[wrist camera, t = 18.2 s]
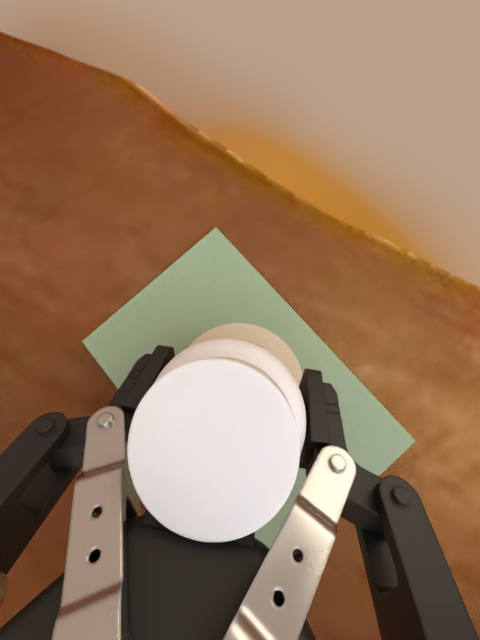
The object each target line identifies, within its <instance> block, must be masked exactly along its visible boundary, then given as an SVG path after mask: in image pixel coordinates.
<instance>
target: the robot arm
mask: <svg viewBox="0 0 480 640" xmlns="http://www.w3.org/2000/svg"><path fill="white" fill-rule="evenodd" d="M174 357H175V352H174V348H173V347H170V346H163V345H157V346H156V348H155V350H154V351H153V353H152V354H147V353H146V354H145V355H143V356H142V357H141V358H139V359H138V360H137V361H136V363H135V364H134V366H133V368H132V370H131V371H130V372H129V374H128V375H127V377H126V378H125V380H124V382H123V383H122V385H121V386H120V388H119V389H118V391H117V392H116V394H115V396H114V397H113V399H112V400H111V402H110V403H109V405H108V406H106V407H103V408H101V409H99V410H97V411H96V412H95V413H94V414H93V415H92V416H88V417H81V418H73V419H66V417H65V416H64V415H63V414H62V413H59V412H51V413H47V414H44V415H42V416H40V417H39V418H37V419H36V420H34V421H33V422H32V423H31V424H30V425H29V426H28V427H27V428H26V429H25V430H24V431H23V432H22V433H21V434H20V435H19V436H18V437H17V439H16V440H15V441H14V442H13V443H12V444H11V445H10V446H9V447H8V448H7V449H6V450H5V451H4V452H3V453H2V454H1V455H0V607H1V605H2V603H3V600H4V596H5V594H6V590H7V582H8V581H7V576H6V575H7V573H8V572H9V570H10V569H11V567H12V566H13V564H14V563H15V562H16V560H17V559H18V557H19V556H20V554H21V553H22V552H23V550H24V549H25V547H26V546H27V544H28V543H29V542H30V540H31V539H32V537H33V536H34V534H35V533H36V531H37V530H38V529H39V527H40V526H41V524H42V523H43V521H44V520H45V519H46V517H47V516H48V514H49V513H50V511H51V510H52V508H53V507H54V506H55V504H56V503H57V501H58V500H59V498H60V497H61V496H62V494H63V493H64V491H65V490H66V488H67V487H68V485H69V484H70V483H71V481H72V480H73V478H74V477H75V475H76V474H77V473H78V471H79V470H80V468H83V470H82V474H81V475H80V476H78V477H77V479H76V482H75V487H74V495H73V504H72V512H71V521H70V530H69V538H68V547H67V556H66V564H65V572H64V573H63V574H61V575H60V576H59V577H58V578H57V579H56V580H55V581H54V582H52V583H51V584H50V585H49V586H48V587H47V588H46V589H44V590H43V591H42V592H41V593H40V594H39V595H38V596H37V597H35V598H34V599H33V600H32V601H31V602H30V603H29V604H27V605H26V606H25V607H24V608H23V609H22V610H21V611H20V612H18V613H17V614H16V615H15V616H14V617H13V618H12V619H10V620H9V621H8V622H7V623H6V624H5V625H4V626H3V627H1V628H0V640H316V638H315V636H314V634H313V632H312V630H311V628H310V626H309V623H308V621H307V619H306V616H307V614H308V611H309V608H310V606H311V603H312V600H313V597H314V595H315V592H316V589H317V587H318V584H319V581H320V578H321V576H322V573H323V570H324V568H325V565H326V562H327V560H328V557H329V554H330V551H331V549H332V546H333V543H334V540H335V537H336V534H337V524H338V521H339V518H340V516H341V517H343V518H344V519H346V520H348V521H349V522H351V523H353V524H354V525H355V526H356V530H357V534H358V539H359V543H360V547H361V552H362V556H363V560H364V565H365V569H366V573H367V578H368V582H369V586H370V591H371V595H372V599H373V603H374V608H375V612H376V616H377V621H378V625H379V629H380V634H381V638H382V640H479V638H478V635H477V633H476V630H475V628H474V626H473V623H472V621H471V619H470V616H469V614H468V611H467V609H466V607H465V604H464V602H463V599H462V597H461V595H460V592H459V590H458V588H457V585H456V583H455V580H454V578H453V576H452V573H451V571H450V568H449V566H448V564H447V561H446V559H445V557H444V554H443V552H442V549H441V547H440V545H439V542H438V540H437V537H436V535H435V533H434V530H433V528H432V526H431V523H430V521H429V518H428V516H427V514H426V511H425V509H424V506H423V504H422V502H421V499H420V497H419V495H418V494H417V492H416V491H415V489H414V488H413V487H412V486H411V485H410V484H409V483H408V482H407V481H405V480H404V479H402V478H400V477H397V476H393V475H389V476H386V477H384V478H381V477H379V476H377V475H375V474H373V473H371V472H369V471H368V470H366V469H364V468H362V467H361V466H359V465H358V464H357V463H356V462H355V461H354V460H353V459H352V457H351V456H350V454H349V452H348V450H347V447H346V442H345V436H344V430H343V425H342V419H341V414H340V407H339V402H338V396H337V392H336V391H335V389H334V388H333V386H332V384H330V383H324V382H323V379H322V372H321V371H319V370H313V369H307V368H305V369H304V372H303V375H302V378H301V382H300V385H299V389H300V391H301V394H302V397H303V401H304V405H305V411H306V435H305V441H304V445H303V449H302V452H301V455H300V461H299V468H303V469H305V470H306V480H305V482H304V483H303V485H302V487H301V489H300V491H299V493H298V495H297V497H296V499H295V501H294V503H293V505H292V507H291V509H290V510H289V512H288V514H287V516H286V518H285V520H284V522H283V524H282V526H281V528H280V530H279V532H278V533H277V535H276V537H275V539H274V541H273V543H272V545H271V547H270V549H269V548H268V547H267V546H266V545H265V544H263V543H262V542H261V541H260V540H258V539H256V538H255V532H253V533H251V534H249V535H247V536H245V537H242V538H239V539H236V540H232V541H227V542H201V541H196V540H192V539H189V538H186V537H183V536H181V535H178V534H177V533H175V532H173V531H171V530H169V529H168V528H166V527H165V526H164V525H162V524H161V523H160V522H159V521H158V520H157V519H156V518H155V517H154V516H153V515H152V514H151V513H150V512H149V511H148V510H146V513H145V515H142V511H141V502H140V498H139V496H138V494H137V492H136V490H135V488H134V485H133V482H132V479H131V476H130V471H129V466H128V456H127V443H128V434H129V430H130V425H131V422H132V419H133V416H134V413H135V411H136V409H137V407H138V405H139V403H140V401H141V400H142V398H143V397H144V395H145V394H146V392H147V391H148V390H149V388H150V387H151V386H152V385H153V384H154V382H155V380H156V379H157V377H158V375H159V374H160V372H161V371H162V370H163V368H164V367H165V366H166V365H167V364H168V363H169V362H170V361H171V360H172V359H173V358H174Z"/></svg>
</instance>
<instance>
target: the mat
mask: <svg viewBox="0 0 480 640" xmlns="http://www.w3.org/2000/svg"><path fill="white" fill-rule="evenodd" d="M218 338H232V339H240V340H244V341H249V342H251V343H254V344H257V345H259V346H261V347H263V348H264V349H266V350H268V351H269V352H270V353H272V354H273V355H275V356H276V357H277V358H278V359H279V360H280V361H281V362H282V363H283V364H284V365H285V366H286V367H287V369H288V370H289V371H290V372H291V374H292V376H293V377H294V379H295V381H296V382H297V384H298V387H299V385H300V382H301V378H302V375H303V372H304V369H305V368H307V369H313V370H319V371H321V372H322V379H323V382H324V383H330V384H332V386H333V388H334V389H335V391H336V392H337V396H338V402H339V407H340V414H341V419H342V425H343V430H344V436H345V442H346V447H347V450H348V452H349V454H350V456H351V457H352V459H353V460H354V461H355V462H356V463H357V464H358V465H359V466H361V467H362V468H364V469H366V470H368V471H369V472H371V473H373V474H375V475H377V476H379V475H380V474H382V473H383V472H384V471H385V470H386V469H387V468H388V467H389V466H390V465H391V464H392V463H393V462H394V461H395V460H396V459H397V458H399V457H400V456H401V455H402V454H403V453H404V452H405V451H406V450H407V449H408V448H409V447H410V446H411V445H412V444H413V443H414V442H415V439H414V438H413V437H412V436H411V435H410V434H409V433H408V432H407V431H406V430H405V429H404V428H403V427H402V426H401V425H400V423H399V422H398V421H397V420H396V419H395V418H394V417H393V416H392V415H391V414H390V413H389V412H388V411H387V410H386V408H385V407H384V406H383V405H382V404H381V403H380V402H379V401H378V400H377V399H376V398H375V397H374V396H373V395H372V394H371V392H370V391H369V390H368V389H367V388H366V387H365V386H364V385H363V384H362V383H361V382H360V381H359V380H358V379H357V377H356V376H355V375H354V374H353V373H352V372H351V371H350V370H349V369H348V368H347V367H346V366H345V365H344V364H343V363H342V361H341V360H340V359H339V358H338V357H337V356H336V355H335V354H334V353H333V352H332V351H331V350H330V349H329V348H328V346H327V345H326V344H325V343H324V342H323V341H322V340H321V339H320V338H319V337H318V336H317V335H316V334H315V333H314V331H313V330H312V329H311V328H310V327H309V326H308V325H307V324H306V323H305V322H304V321H303V320H302V319H301V318H300V317H299V315H298V314H297V313H296V312H295V311H294V310H293V309H292V308H291V307H290V306H289V305H288V304H287V303H286V302H285V300H284V299H283V298H282V297H281V296H280V295H279V294H278V293H277V292H276V291H275V290H274V289H273V288H272V287H271V286H270V284H269V283H268V282H267V281H266V280H265V279H264V278H263V277H262V276H261V275H260V274H259V273H258V272H257V271H256V269H255V268H254V267H253V266H252V265H251V264H250V263H249V262H248V261H247V260H246V259H245V258H244V257H243V256H242V255H241V253H240V252H239V251H238V250H237V249H236V248H235V247H234V246H233V245H232V244H231V243H230V242H229V241H228V240H227V238H226V237H225V236H224V235H223V234H222V233H221V232H220V231H219V230H218V229H217V228H216V227H215V228H214V229H213V230H212V231H211V232H209V233H208V234H207V235H206V236H205V237H203V238H202V239H201V240H200V241H199V242H198V243H196V244H195V245H194V246H193V247H192V248H191V249H189V250H188V251H187V252H186V253H185V254H184V255H182V256H181V257H180V258H179V259H178V260H177V261H175V262H174V263H173V264H172V265H171V266H170V267H168V268H167V269H166V270H165V271H164V272H162V273H161V274H160V275H159V276H158V277H157V278H155V279H154V280H153V281H152V282H151V283H150V284H148V285H147V286H146V287H145V288H144V289H143V290H141V291H140V292H139V293H138V294H137V295H136V296H134V297H133V298H132V299H131V300H130V301H128V302H127V303H126V304H125V305H124V306H123V307H121V308H120V309H119V310H118V311H117V312H116V313H114V314H113V315H112V316H111V317H110V318H109V319H107V320H106V321H105V322H104V323H103V324H102V325H100V326H99V327H98V328H97V329H96V330H94V331H93V332H92V333H91V334H90V335H89V336H87V337H86V338H85V339H84V340H83V341H82V343H83V344H84V345H85V347H86V348H87V349H88V350H89V352H90V353H91V354H92V356H93V357H94V358H95V360H96V361H97V362H98V364H99V365H100V366H101V368H102V369H103V370H104V371H105V373H106V374H107V375H108V377H109V378H110V379H111V381H112V382H113V383H114V385H115V386H116V387H117V389H119V388H120V386H121V385H122V383H123V382H124V380H125V378H126V377H127V375H128V374H129V372H130V371H131V370H132V368H133V366H134V364H135V363H136V361H137V360H138V359H139V358H141V357H142V356H143V355H145V354H146V353H147V354H152V353H153V351H154V350H155V348H156V346H157V345H163V346H170V347H173V348H174V352H175V356H176V355H178V354H179V353H181V352H182V351H184V350H185V349H187V348H189V347H191V346H192V345H195V344H197V343H200V342H203V341H207V340H211V339H218ZM305 480H306V470H305V469H303V468H298V473H297V477H296V480H295V483H294V486H293V488H292V491H291V493H290V495H289V497H288V499H287V500H286V502H285V503H284V505H283V507H282V508H281V509H280V510H279V512H278V513H277V514H276V515H275V516H274V517H273V518H272V519H271V520H270V521H269V522H268V523H266V524H265V525H264V526H263V527H261V528H260V529H258V530H257V531H255V538H256V539H258V540H260V541H261V542H262V543H263V544H265V545H266V546H267V547H268V548H269V549H270V547H271V545H272V543H273V541H274V539H275V537H276V535H277V533H278V532H279V530H280V528H281V526H282V524H283V522H284V520H285V518H286V516H287V514H288V512H289V510H290V509H291V507H292V505H293V503H294V501H295V499H296V497H297V495H298V493H299V491H300V489H301V487H302V485H303V483H304V482H305Z"/></svg>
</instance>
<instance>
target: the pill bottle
mask: <svg viewBox="0 0 480 640" xmlns="http://www.w3.org/2000/svg"><path fill="white" fill-rule="evenodd" d="M305 435H306V411H305V405H304V401H303V397H302V394H301V391H300V389H299V387H298V384H297V382H296V381H295V379H294V377H293V376H292V374H291V372H290V371H289V370H288V369H287V367H286V366H285V365H284V364H283V363H282V362H281V361H280V360H279V359H278V358H277V357H276V356H275V355H273V354H272V353H270V352H269V351H268V350H266V349H264V348H263V347H261V346H259V345H257V344H254V343H251V342H249V341H244V340H240V339H232V338H218V339H211V340H207V341H203V342H200V343H197V344H195V345H192V346H191V347H189V348H187V349H185V350H184V351H182V352H181V353H179V354H178V355H176V356H175V357H174V358H173V359H172V360H171V361H170V362H169V363H168V364H167V365H166V366H165V367H164V368H163V370H162V371H161V372H160V374H159V375H158V377H157V379H156V380H155V382H154V384H153V385H152V386H151V387H150V388H149V390H148V391H147V392H146V394H145V395H144V397H143V398H142V400H141V401H140V403H139V405H138V407H137V409H136V411H135V413H134V416H133V419H132V422H131V425H130V430H129V434H128V443H127V456H128V466H129V471H130V476H131V479H132V482H133V485H134V488H135V490H136V492H137V494H138V496H139V498H140V499H141V501H142V503H143V504H144V506H145V507H146V508H147V510H148V511H149V512H150V513H151V514H152V515H153V516H154V517H155V518H156V519H157V520H158V521H159V522H160V523H161V524H162V525H164V526H165V527H166V528H168V529H169V530H171V531H173V532H175V533H177V534H178V535H181V536H183V537H186V538H189V539H192V540H196V541H201V542H227V541H232V540H236V539H239V538H242V537H245V536H247V535H249V534H251V533H253V532H255V531H257V530H258V529H260V528H261V527H263V526H264V525H265V524H266V523H268V522H269V521H270V520H271V519H272V518H273V517H274V516H275V515H276V514H277V513H278V512H279V510H280V509H281V508H282V507H283V505H284V503H285V502H286V500H287V499H288V497H289V495H290V493H291V491H292V488H293V486H294V483H295V480H296V477H297V473H298V468H299V461H300V455H301V452H302V449H303V445H304V441H305Z"/></svg>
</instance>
